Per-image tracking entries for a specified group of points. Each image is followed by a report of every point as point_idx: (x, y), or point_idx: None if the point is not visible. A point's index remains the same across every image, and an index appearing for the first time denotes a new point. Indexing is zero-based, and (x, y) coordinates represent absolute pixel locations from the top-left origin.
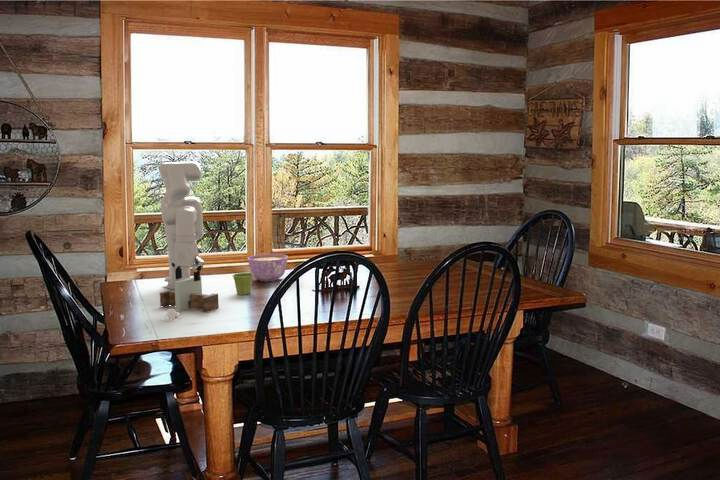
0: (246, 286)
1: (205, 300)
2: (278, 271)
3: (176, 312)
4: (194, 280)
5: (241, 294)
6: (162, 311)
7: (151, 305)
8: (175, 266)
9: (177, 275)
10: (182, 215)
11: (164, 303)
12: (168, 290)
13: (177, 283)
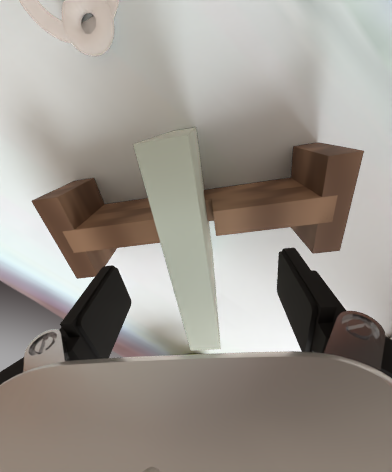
0: None
1: (42, 196)
2: None
3: (94, 38)
4: (106, 268)
5: (187, 354)
6: (245, 77)
7: (380, 137)
8: (362, 352)
9: (289, 272)
10: None
11: (300, 149)
12: (344, 219)
13: (148, 140)
